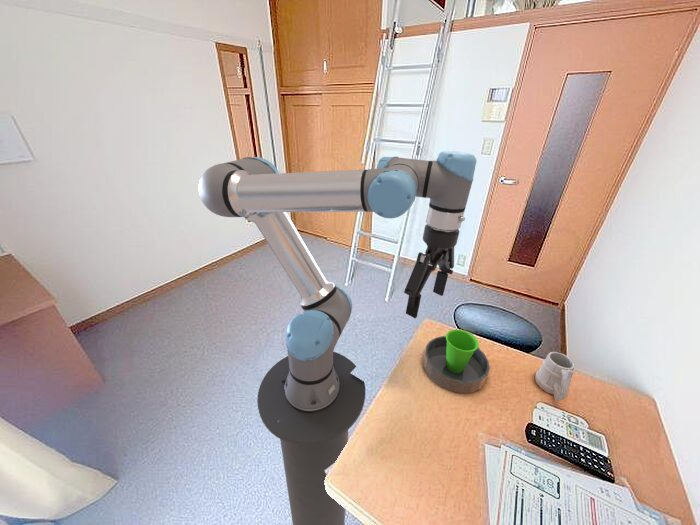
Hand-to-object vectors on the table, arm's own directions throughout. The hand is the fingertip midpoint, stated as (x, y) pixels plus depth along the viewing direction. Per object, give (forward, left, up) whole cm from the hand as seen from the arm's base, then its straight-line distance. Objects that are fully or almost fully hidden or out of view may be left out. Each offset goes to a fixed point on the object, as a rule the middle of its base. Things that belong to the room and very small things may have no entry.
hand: (425, 303), depth 73 cm
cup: (+9, +10, -25) cm, 29 cm away
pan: (+9, +10, -26) cm, 29 cm away
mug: (+34, +19, -26) cm, 47 cm away
